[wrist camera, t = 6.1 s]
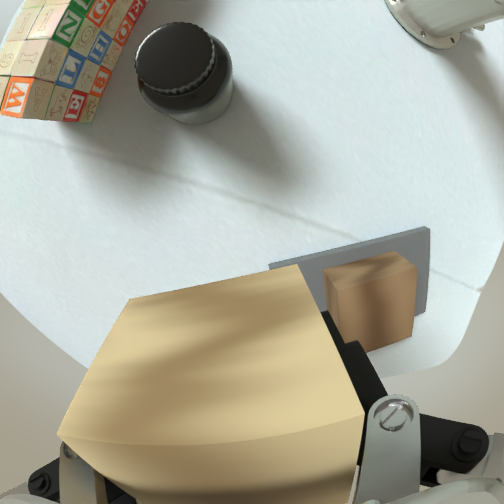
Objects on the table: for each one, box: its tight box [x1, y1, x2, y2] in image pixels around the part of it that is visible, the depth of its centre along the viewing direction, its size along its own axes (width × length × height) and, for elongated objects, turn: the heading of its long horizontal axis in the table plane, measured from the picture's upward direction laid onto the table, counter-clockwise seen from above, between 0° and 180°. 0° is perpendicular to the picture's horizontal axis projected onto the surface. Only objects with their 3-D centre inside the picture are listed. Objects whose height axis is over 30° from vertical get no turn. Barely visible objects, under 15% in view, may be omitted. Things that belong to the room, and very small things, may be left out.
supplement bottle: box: [134, 22, 233, 125], centre depth 18 cm, size 7×7×12 cm
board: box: [268, 226, 430, 316], centre depth 32 cm, size 20×12×1 cm, turn 102°
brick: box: [322, 251, 418, 353], centre depth 29 cm, size 9×9×5 cm
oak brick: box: [57, 264, 365, 504], centre depth 8 cm, size 6×6×6 cm
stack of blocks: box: [0, 0, 150, 123], centre depth 15 cm, size 21×6×12 cm, turn 158°
